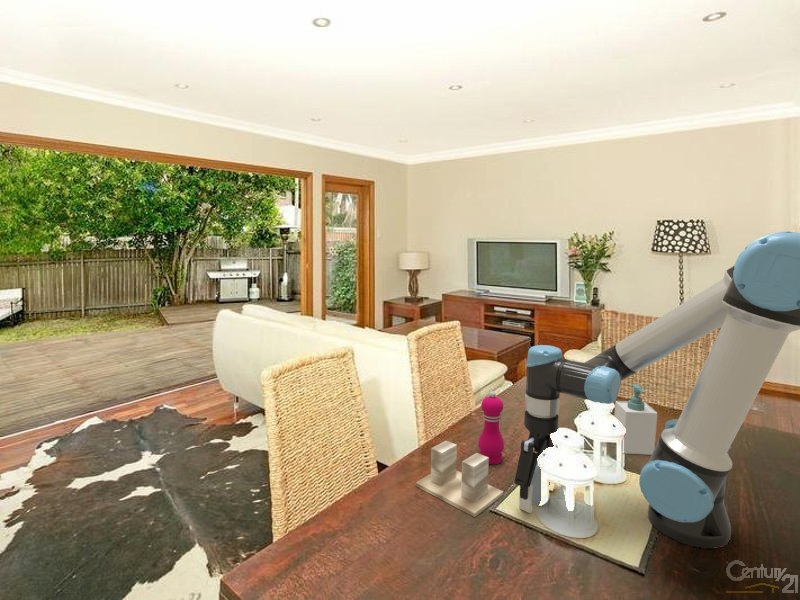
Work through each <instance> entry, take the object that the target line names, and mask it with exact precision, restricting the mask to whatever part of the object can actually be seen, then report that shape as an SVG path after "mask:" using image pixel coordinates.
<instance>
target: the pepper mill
mask: <svg viewBox="0 0 800 600" xmlns="http://www.w3.org/2000/svg"><path fill="white" fill-rule="evenodd" d="M496 394H497V393H496V391H493V390H492V391H490V392H489V395H488V396H485V397H484V398H483V399H482V400H481V410H482V411H483V413H482V418H483V420H484V427H483V430H482V431H481V434H480V435H479V438H478V440H477V441H478V443H477V446H478V448H479V454H481V455H483V456H486V457H488V458H489V465H498V464H500V463H501V462H502V461H503V453H502V452H503V451H504V449H505V441H504V438H503V435H502V433H501V429H500V421H501V420H502V414H501V413H502V412H503V411H504V403H503V401H502V399H501V398H500V397H498V396H497V395H496Z"/></svg>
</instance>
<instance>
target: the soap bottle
mask: <svg viewBox="0 0 800 600" xmlns="http://www.w3.org/2000/svg"><path fill="white" fill-rule="evenodd" d="M631 386H632V387H633V394H634V395H633V396H631V397H630V399H629V400H628V401H627V400H615V401H614V402H615V405H614V408H615V409H614V417H616V418H617V419H618V420H619V421H620V422H621V423H622V424H623V426H624V427H625V428H626V435H625V438H624V451H625V453H624V454H629V455H648V456H649V455H650V456H651V455H652V453H653V451H654V449H655V447H656V436H657V435H656V432H657V423H658V412H657V411H656V410H655V409H654V408H653V407H652V406H650V405H649V404H648V403H647V402H645V401H643V398H642V397H640V394H645V393H646V391H645V389H643V388H642V387H641V386H640V385H639V384H638V383H632V384H631Z"/></svg>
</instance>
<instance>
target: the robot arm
mask: <svg viewBox="0 0 800 600" xmlns="http://www.w3.org/2000/svg"><path fill="white" fill-rule="evenodd" d="M718 329H719V330H718ZM715 330H718V331H719V332H718V334H717V336H716V338H715V339H714V343H713V344H712V346H711V349H710V350H709V353H708V355H707V358H706V359H705V362H704V364H703V366H702V368H701V370H700V372H699V375H698V377H697V379H696V381H695V384H694V385H693V387H692V389H691V392H690V394H689V396H688V399H687V401H686V402H685V405H684V407H683V409H682V411H681V414H680V415H679V418H673V419H669V420H667V421H666V422H665V426H664V429H663V430H662V431H661V433H660V436H659V439H658V441H657V443H655V449H654V451H653V453H652V455H650V458H649V459H648V461H647V462H646V463H645V465H643V466H642V467H641V470H640V475H639V478H638V480H639V483H638V485H639V489H640V491H641V493H642V495H643V497H644V499H645V500H646V502H647V503H648V510H647V511H648V512H647V516H648V520H649V521H650V523H651V524H652V525H653V527H655V529H657V530H658V531H659V532H661V533H662V534H664V535H665V536H667V537H669V538H670V539H673V540H674V541H676V542H679V543H681V544H685V545H687V546H691V547H694V546H695V548H699V547H701V548H700V549H706V548H714V547H720V546H723V545H725V544H727V543H728V542H729V540H730V541H731V537H732V536H731V535H732V526H731V521H730V517H729V515H728V512H727V508H726V505H725V493H726V484H727V477H728V475H729V473H730V472H731V469H732V468H733V461H732V459H731V457H730V450H732V444H733V442H734V440H735V438H736V436H737V435H738V432H739V430H740V428H741V427H742V424H744V421H745V419H746V417H747V415H748V413H749V411H750V410H751V408H752V406H753V404H754V402H755V400H756V398H757V396H758V394H759V392H760V390H761V388H762V386H763V384H764V382H765V381H766V379H767V377H768V375H769V373H770V371H771V369H772V367H773V366H774V363H775V361H776V359H777V357H778V356H779V354H780V352H781V350H782V348H783V346H784V344H785V342H786V340H787V339H788V336H789V334H791V333H793V332H795V331H799V330H800V232H794V231H779V232H773V233H769V234H766V235H763V236H762V237H759V238H757V239H755V240H754V241H752V242H751V243H750V244H749V245H748V244H747V246H746V247H745V248H744V250H742V251H741V252H740V253H739V255H738V257H737V258H736V261H735V263H734V265H732V266H731V267H730V268H728V269H726V270H725V271H724V277H723V278H722V279H720V280H718V281H717V282H715V283H714V284H712V285H711V286H708V287H707V288H706V289H704V290H702V291H700V292H699V293H698V294H696V295H694V296H693V297H691V298H689V299H688V300H686V301H684V302H683V303H681V304H680V305H678V306H676V307H675V308H673V309H671V310H670V311H668V312H667V313H664V314H663V315H662V316H659V317H658V318H656V319H655V320H653V321H652V322H650V323H648V324H647V325H644V326H643V327H641V328H639V329H638V330H637V331H635V332H633V333H632V334H630V335H629V336H627V337H625V338H624V339H622V340H620V341H619V342H617V343H616V344H613V345H612V346H610V347H609V348H607V349H605V350H603V351H602V352H600V353H598V354H597V355H596V356H594V357H592V358H590V359H588V360H587V361H585V362H580V361H575V360H570V359H566V358H564V357H563V351H562V350H561V348H559V347H557V346H554V345H550V344H549V345H548V344H538V345H533V346H530V348H528V350H527V351H528V352H527V358H526V359H527V360H526V364H525V367H526V377H525V378H526V381H525V382H526V385H525V386H526V387H525V394H524V398H525V405H524V406H525V407H524V408H525V411H524V421H523V422H524V424H523V425H524V427H525V428H526V429H527V430H528V432H529V434H528V439H527V440H524V439H523V440H521V443H520V451H519V452H520V454H519V459H518V461H517V462H518V463H517V467H516V473H515V476H514V484H515V485H518V486H519V498H518V499H519V500H518V502H519V503H518V507H519V509H520V510H522V511H524V512H526V513H528V514H530V513H532V504H533V503H532V486H533V485H531V481H532V478H533V475H534V471H535V468H536V465H537V464H538V461H537V458H538V456H539V455H540V454H541V453H542V452H543V450H545V449H546V448H548V447H553V446H554V445H553V443H552V440H551V438H550V434H551V433H554V432H556V431H557V429H558V430H559V417H560V416H559V415H558V414H559V413H560V399H561V397H560V394H565V395H567V396H568V395H569V396H573V397H575V398H576V397H577V398H580V399H584V400H587V401H590V402H593V403H601V404H606V405H610V404H613V403H614V402H616V401H617V397H618V396H619V393H620V389H621V382H622V381H624V380H625V379H627V378H629V377H631V376H633V375H635V374H636V373H637V372H640V371H641V370H644V369H646V368H647V367H649V366H651V365H653V364H655V363H656V362H659V361H660V360H662V359H664V358H666V357H667V356H669V355H671V354H673V353H675V352H677V351H679V350H681V349H683V348H685V347H687V346H688V345H689V344H691V343H694V342H695V341H698V340H699V339H701V338H702V337H705V336H706V335H708V334H710V333H713V332H714V331H715ZM542 454H543V453H542ZM729 543H730V542H729ZM727 545H728V544H727Z"/></svg>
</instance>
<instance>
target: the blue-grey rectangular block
mask: <svg viewBox="0 0 800 600" xmlns="http://www.w3.org/2000/svg"><path fill="white" fill-rule="evenodd" d="M531 485H533V486H532V504H533V505H536V506H537V507H539V506H538V505H539V504H540V501H541V469H540V467H539V466H538V463H537V465H536V468H535V471H534V475H533V478H532V481H531ZM549 485H550V482H549Z"/></svg>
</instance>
